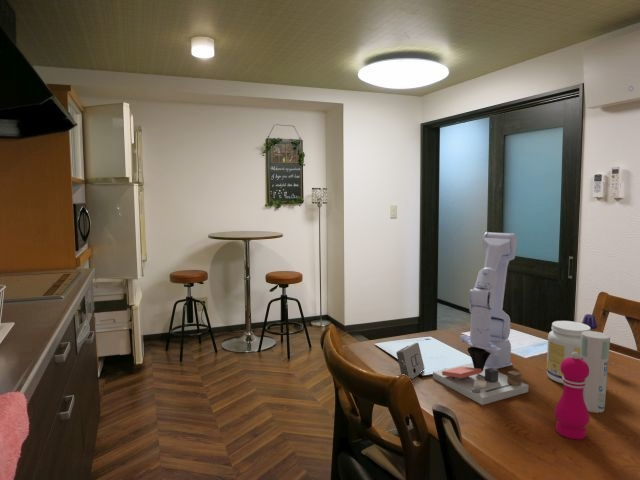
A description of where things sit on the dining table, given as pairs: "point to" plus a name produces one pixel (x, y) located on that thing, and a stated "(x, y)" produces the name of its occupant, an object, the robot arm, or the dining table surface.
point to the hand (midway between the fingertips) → (478, 371)
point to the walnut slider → (514, 378)
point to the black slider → (491, 375)
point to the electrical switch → (410, 360)
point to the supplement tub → (563, 345)
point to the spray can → (595, 368)
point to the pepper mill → (572, 399)
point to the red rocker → (461, 372)
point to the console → (481, 386)
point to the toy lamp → (590, 321)
